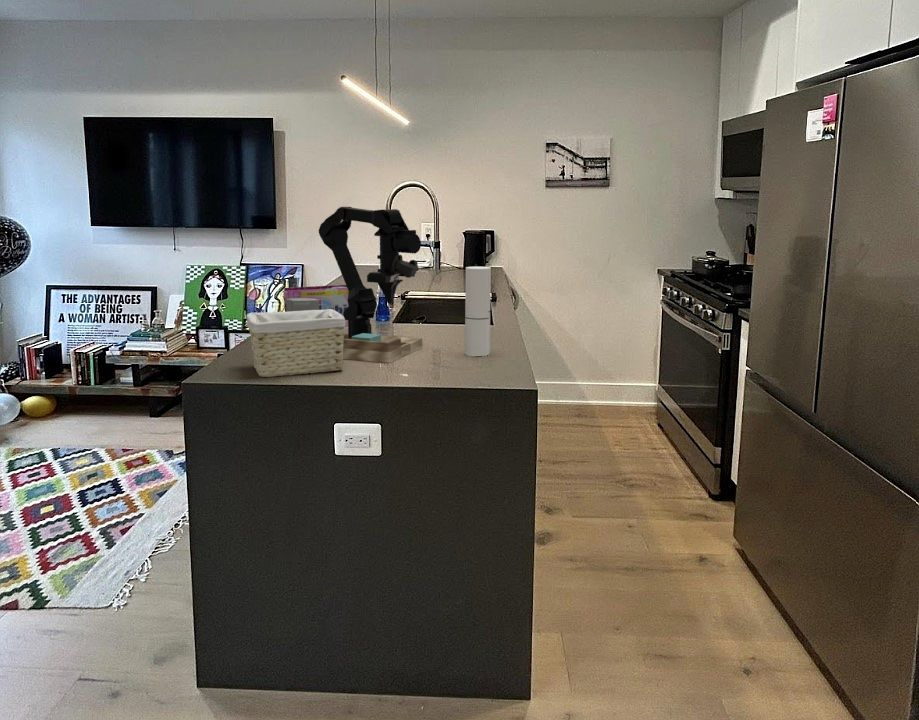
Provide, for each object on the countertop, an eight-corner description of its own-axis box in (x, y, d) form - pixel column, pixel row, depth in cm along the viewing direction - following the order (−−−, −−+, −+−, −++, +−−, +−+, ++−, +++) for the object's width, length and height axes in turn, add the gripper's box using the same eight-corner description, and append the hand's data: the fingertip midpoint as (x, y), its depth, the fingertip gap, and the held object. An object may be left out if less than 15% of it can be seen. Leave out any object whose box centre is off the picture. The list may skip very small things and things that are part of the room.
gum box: (287, 331, 272) (285, 290, 269) (281, 327, 279) (279, 287, 276) (355, 326, 282) (354, 286, 279) (348, 322, 289) (347, 284, 286)
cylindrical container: (492, 352, 239) (494, 267, 234) (485, 357, 232) (486, 269, 227) (469, 350, 241) (470, 266, 236) (461, 355, 235) (462, 268, 229)
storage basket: (254, 379, 205) (251, 321, 202) (247, 366, 220) (244, 312, 217) (348, 372, 213) (347, 316, 210) (335, 360, 228) (334, 307, 225)
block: (351, 346, 230) (351, 336, 230) (363, 343, 236) (363, 333, 235) (370, 348, 228) (369, 338, 227) (381, 345, 233) (381, 334, 233)
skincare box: (293, 356, 232) (291, 300, 229) (286, 351, 239) (284, 297, 235) (322, 353, 236) (320, 299, 233) (314, 349, 242) (312, 296, 239)
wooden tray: (331, 357, 231) (331, 338, 229) (368, 343, 251) (368, 326, 249) (389, 363, 224) (388, 343, 223) (422, 348, 244) (422, 330, 243)
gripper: (400, 255, 234) (400, 309, 237) (426, 250, 251) (426, 300, 254) (365, 253, 238) (366, 306, 241) (393, 249, 255) (394, 298, 258)
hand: (390, 303), depth 249 cm, fingers closed
